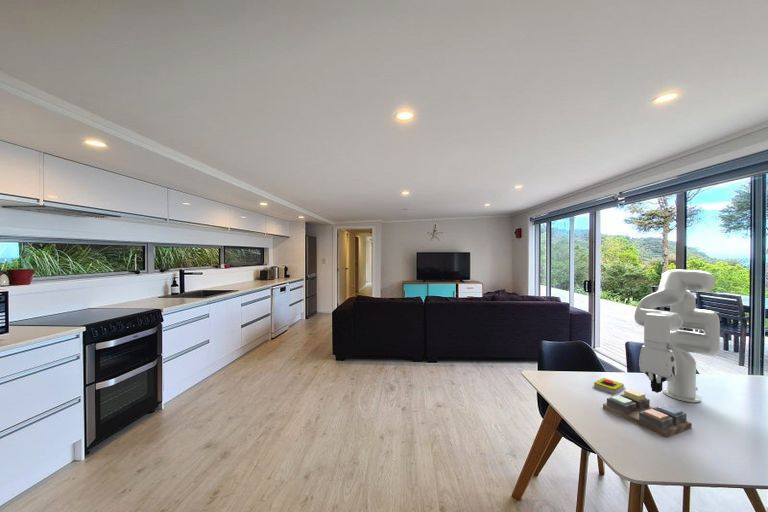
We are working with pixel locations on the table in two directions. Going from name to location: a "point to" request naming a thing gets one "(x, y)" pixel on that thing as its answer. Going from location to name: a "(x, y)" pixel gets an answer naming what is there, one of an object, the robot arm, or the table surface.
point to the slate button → (670, 410)
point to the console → (648, 417)
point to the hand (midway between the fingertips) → (656, 391)
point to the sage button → (621, 400)
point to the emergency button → (608, 386)
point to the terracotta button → (656, 414)
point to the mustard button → (634, 395)
